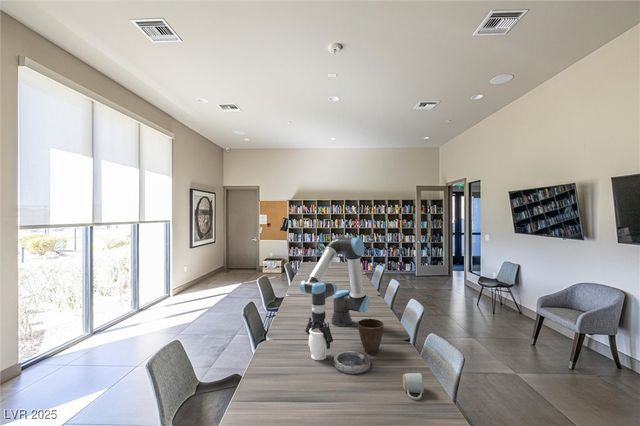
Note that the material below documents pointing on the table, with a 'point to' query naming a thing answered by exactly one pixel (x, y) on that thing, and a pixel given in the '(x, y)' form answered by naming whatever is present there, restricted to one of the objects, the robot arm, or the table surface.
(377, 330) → the plant pot
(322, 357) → the jar
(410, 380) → the ceramic mug
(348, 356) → the grey shallow round dish
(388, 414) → the table surface
